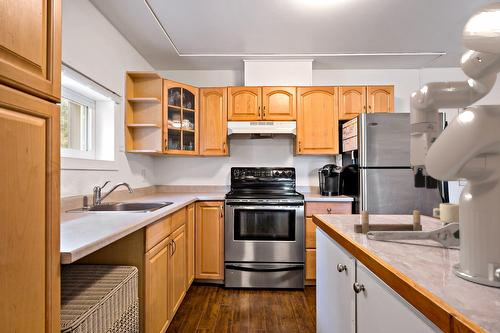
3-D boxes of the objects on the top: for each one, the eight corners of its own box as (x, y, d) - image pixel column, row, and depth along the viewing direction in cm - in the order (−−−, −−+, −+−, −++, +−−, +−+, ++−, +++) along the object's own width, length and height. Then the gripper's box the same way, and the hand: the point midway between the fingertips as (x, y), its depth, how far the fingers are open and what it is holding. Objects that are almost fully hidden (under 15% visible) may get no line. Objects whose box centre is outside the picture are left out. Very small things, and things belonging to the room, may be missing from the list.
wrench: (368, 246, 100) (471, 248, 85) (367, 248, 99) (472, 249, 83) (365, 224, 101) (467, 222, 85) (364, 225, 99) (468, 223, 84)
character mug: (472, 241, 94) (471, 204, 94) (474, 246, 88) (473, 206, 89) (434, 237, 100) (433, 202, 101) (433, 241, 95) (432, 204, 95)
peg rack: (426, 234, 106) (426, 211, 106) (359, 234, 106) (358, 211, 107) (418, 231, 111) (418, 209, 111) (354, 231, 112) (353, 209, 112)
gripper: (456, 125, 77) (457, 189, 77) (420, 133, 94) (421, 186, 94) (429, 125, 77) (430, 190, 77) (398, 134, 94) (399, 186, 94)
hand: (425, 187), depth 85 cm, fingers open, 5 cm apart
